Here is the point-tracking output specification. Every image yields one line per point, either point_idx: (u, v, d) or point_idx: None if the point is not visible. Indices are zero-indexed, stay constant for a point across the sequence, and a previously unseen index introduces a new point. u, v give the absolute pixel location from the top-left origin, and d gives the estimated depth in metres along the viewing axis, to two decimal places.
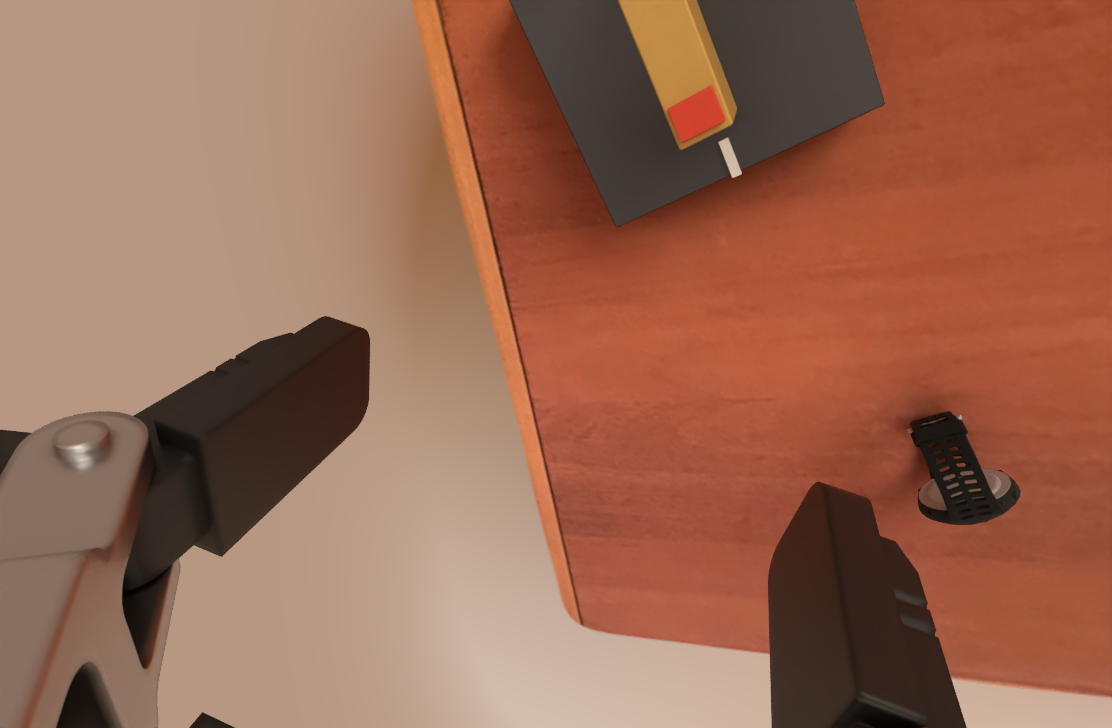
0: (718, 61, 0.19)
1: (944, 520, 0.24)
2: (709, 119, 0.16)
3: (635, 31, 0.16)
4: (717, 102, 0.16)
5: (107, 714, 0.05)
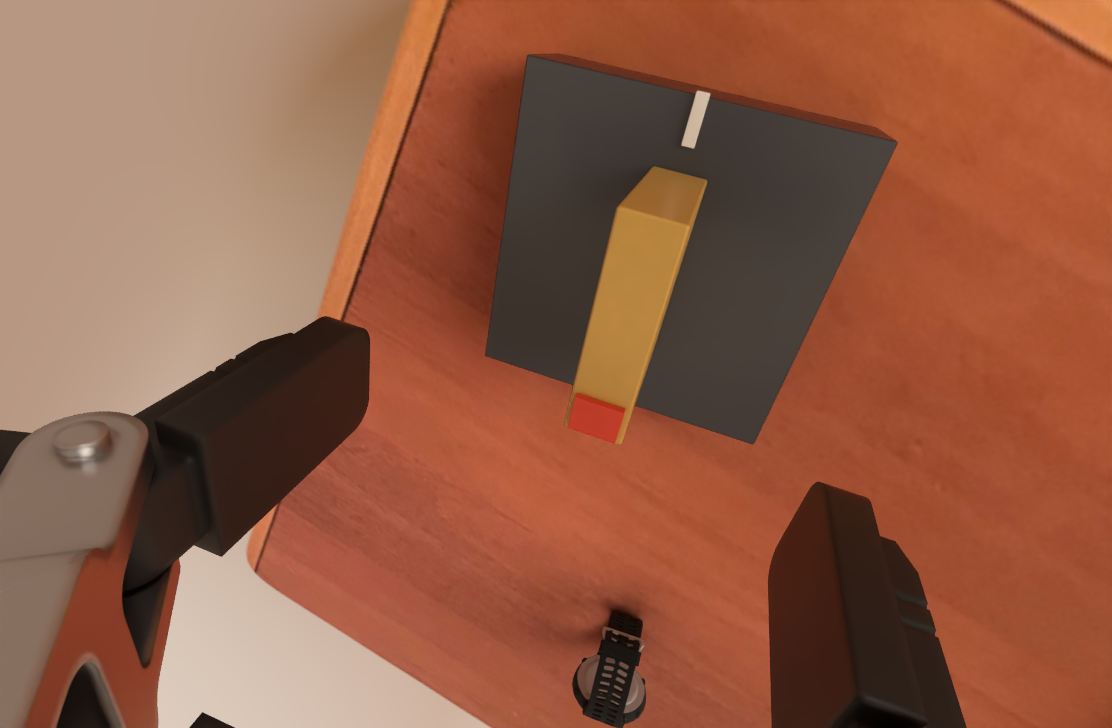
0: (661, 323, 0.18)
1: (581, 705, 0.27)
2: (603, 432, 0.15)
3: (595, 316, 0.13)
4: (619, 426, 0.14)
5: (107, 714, 0.05)
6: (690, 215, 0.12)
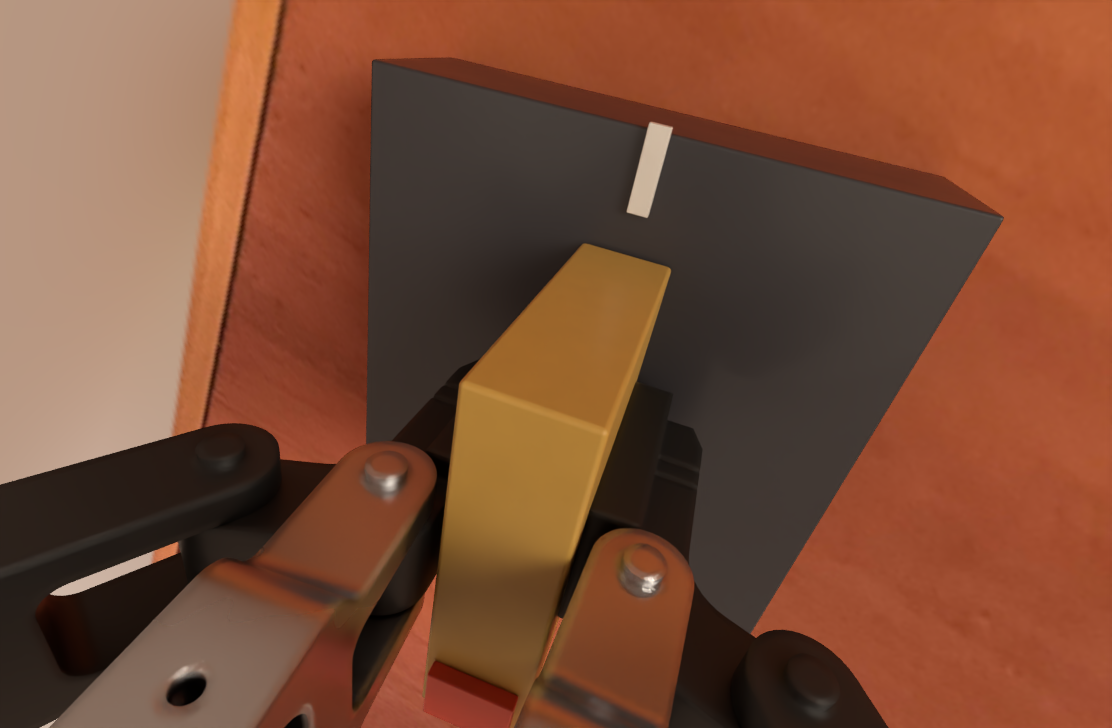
0: None
1: None
2: None
3: (447, 557, 0.07)
4: (507, 725, 0.08)
5: None
6: (618, 388, 0.06)
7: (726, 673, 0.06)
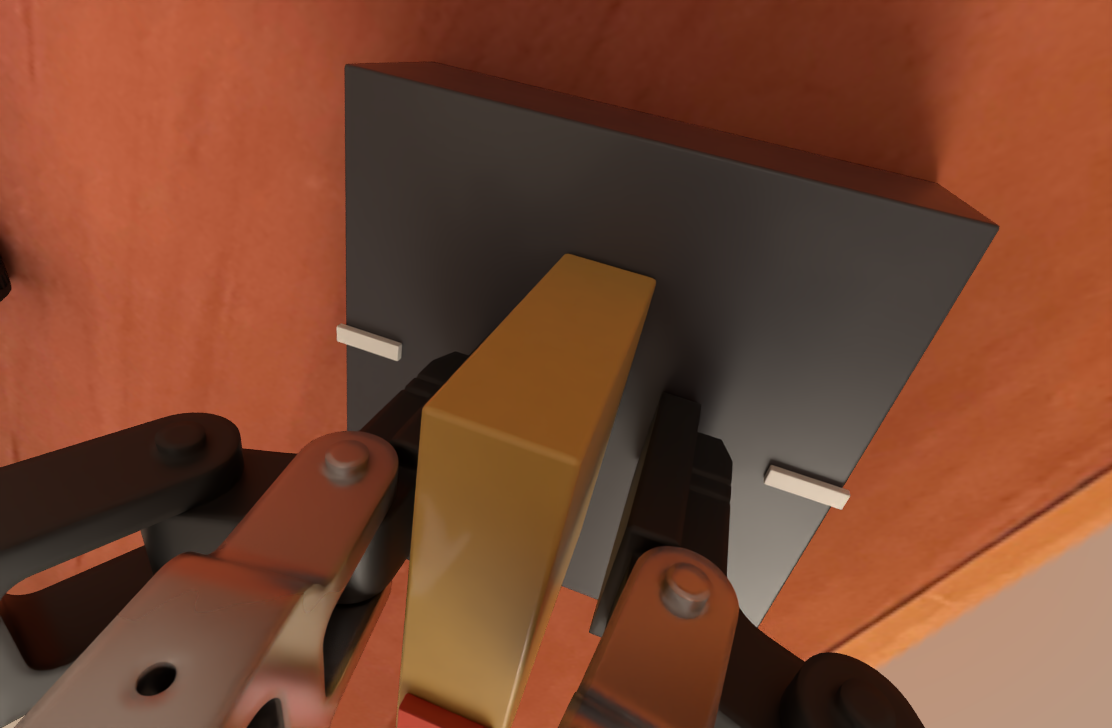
0: (590, 496, 0.11)
1: None
2: None
3: (415, 587, 0.07)
4: None
5: None
6: (593, 412, 0.06)
7: (773, 696, 0.06)
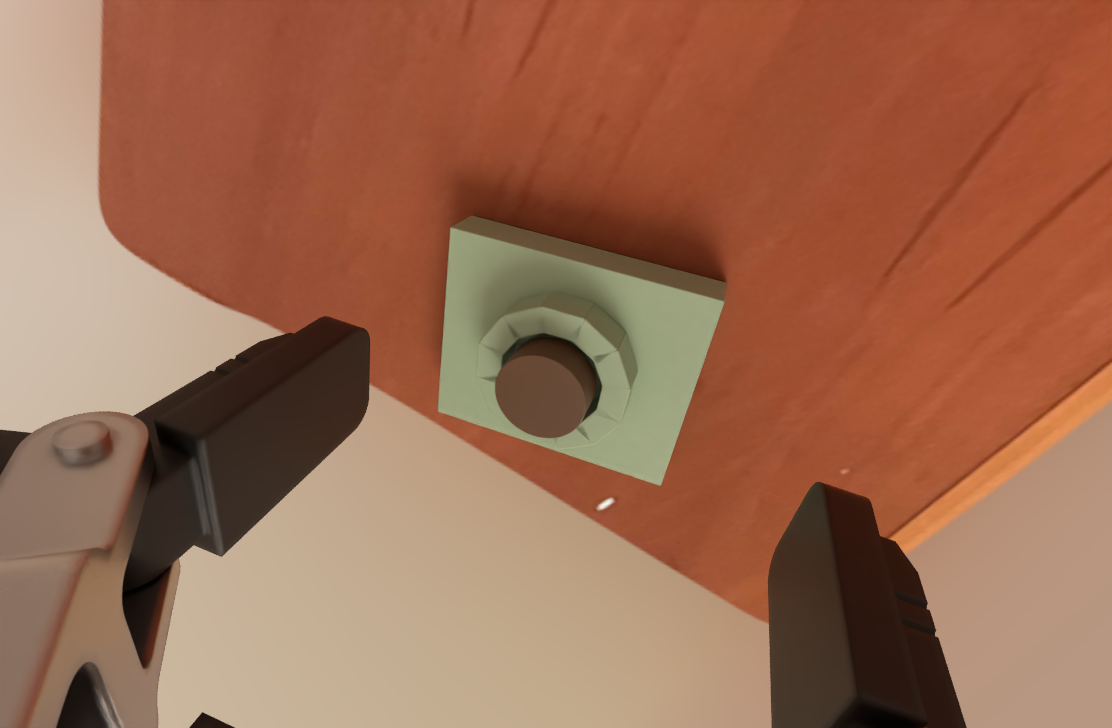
0: None
1: None
2: None
3: None
4: None
5: (107, 714, 0.05)
6: None
7: None
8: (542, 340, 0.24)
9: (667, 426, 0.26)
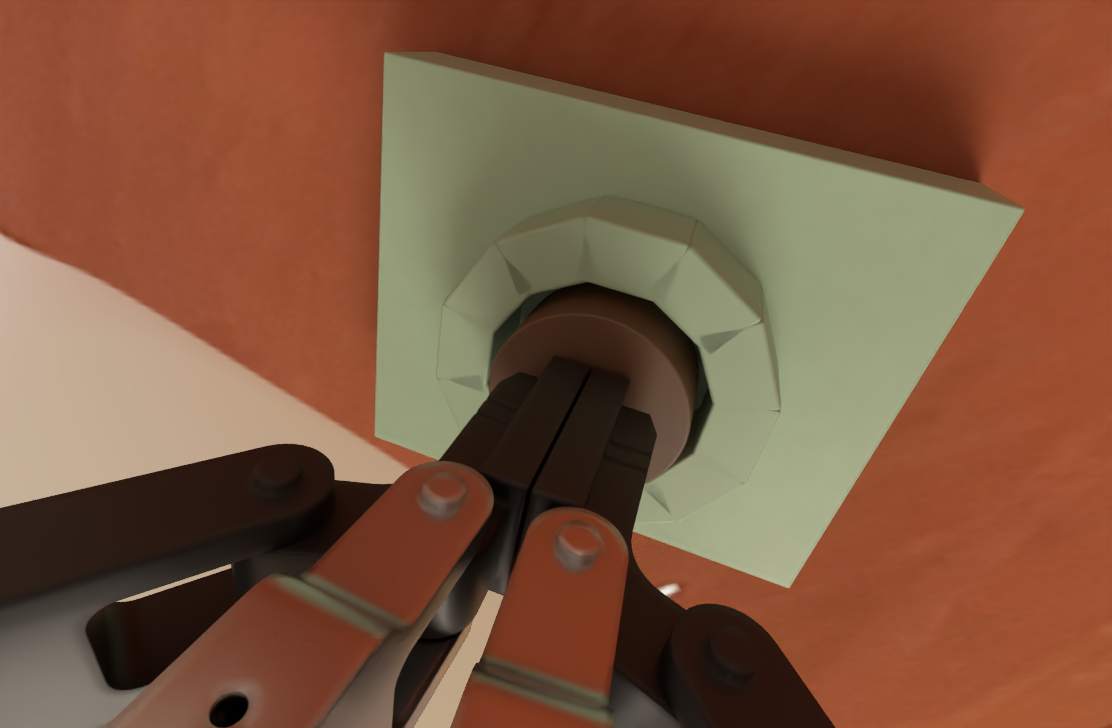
0: None
1: None
2: None
3: None
4: None
5: None
6: None
7: (656, 646, 0.06)
8: (591, 286, 0.11)
9: (824, 482, 0.13)
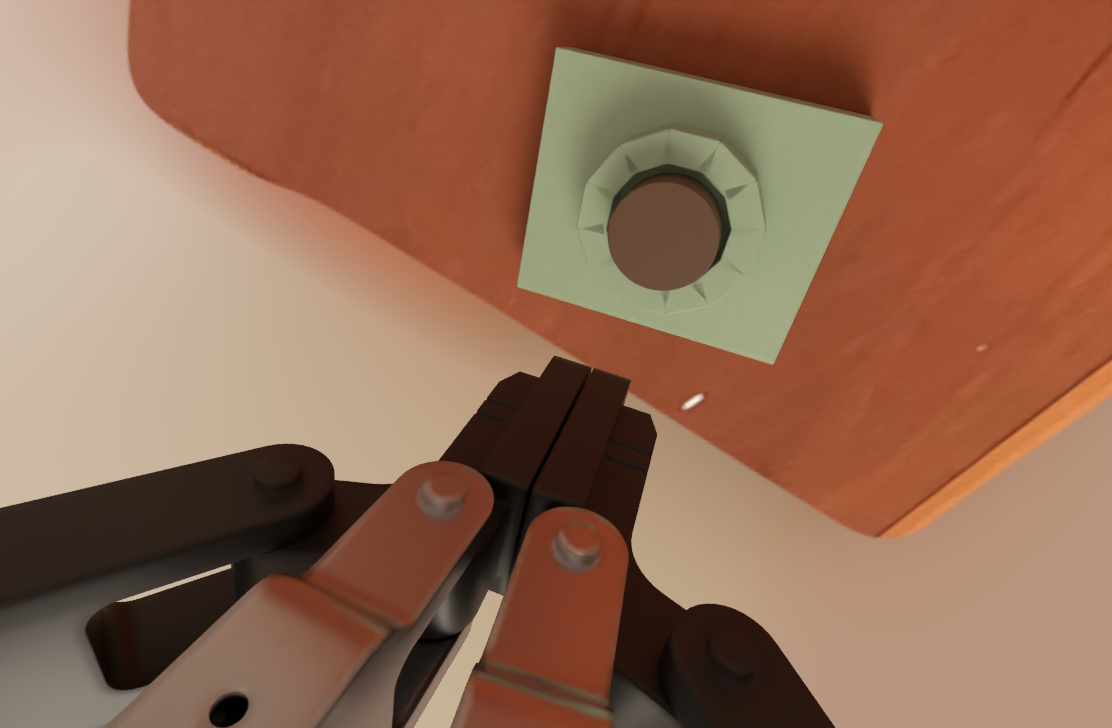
0: None
1: None
2: None
3: None
4: None
5: None
6: None
7: (656, 646, 0.06)
8: (664, 174, 0.21)
9: (791, 288, 0.23)
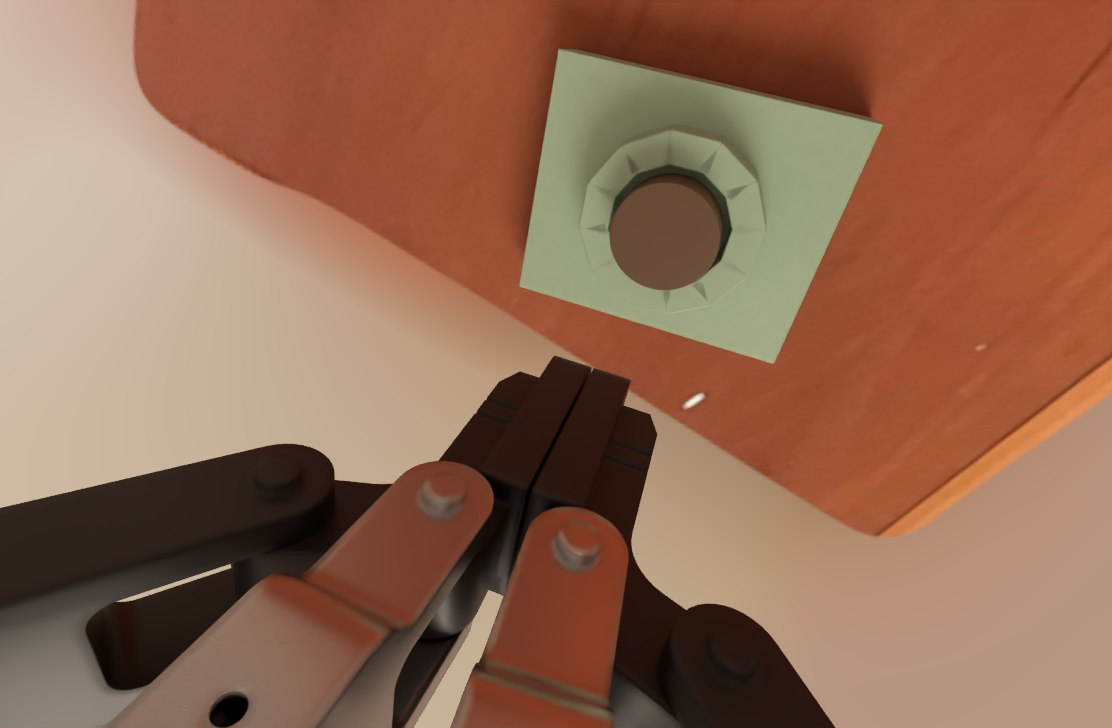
0: None
1: None
2: None
3: None
4: None
5: None
6: None
7: (656, 646, 0.06)
8: (666, 174, 0.21)
9: (792, 288, 0.23)
